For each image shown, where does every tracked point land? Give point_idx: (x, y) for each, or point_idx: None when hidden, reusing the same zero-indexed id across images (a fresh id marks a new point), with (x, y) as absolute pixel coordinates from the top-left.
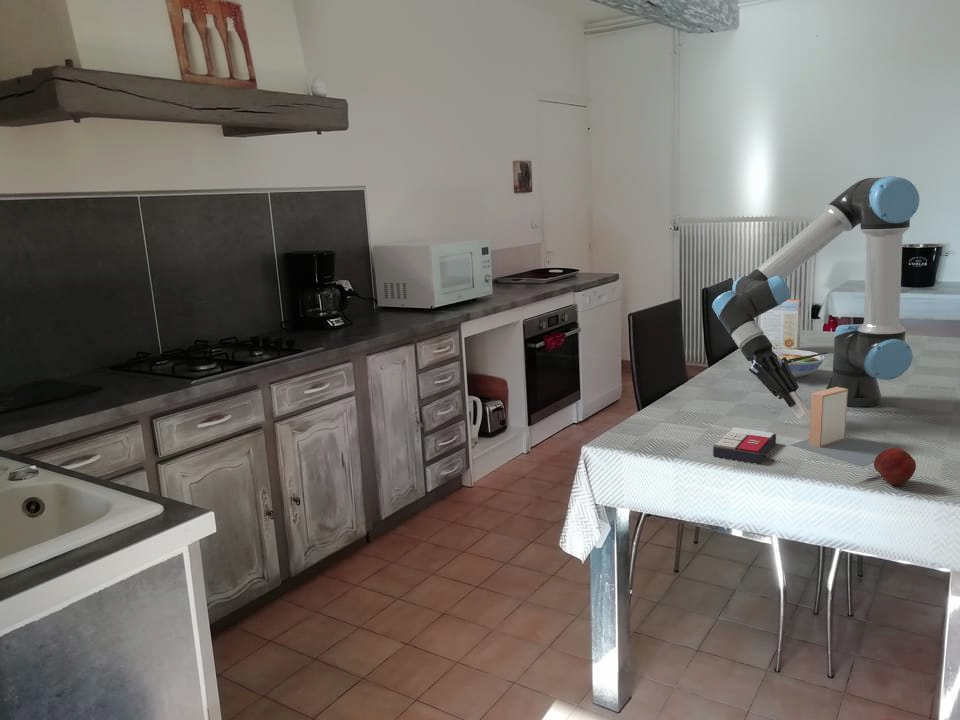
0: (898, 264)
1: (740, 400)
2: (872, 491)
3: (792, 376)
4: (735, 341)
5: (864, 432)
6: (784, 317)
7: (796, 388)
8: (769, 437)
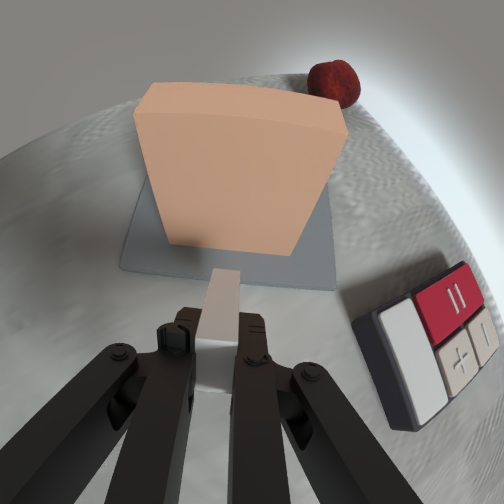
0: None
1: None
2: (373, 118)
3: (57, 409)
4: None
5: (67, 227)
6: None
7: (173, 328)
8: (410, 299)
